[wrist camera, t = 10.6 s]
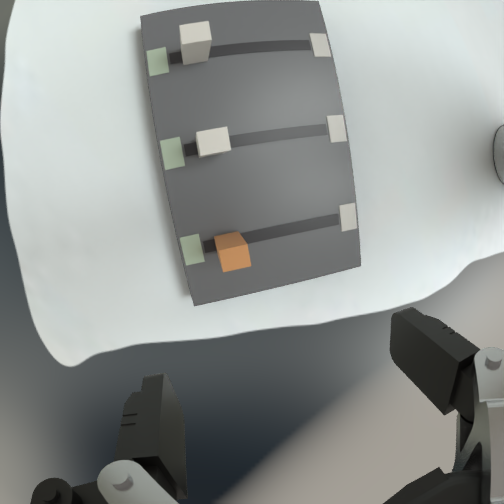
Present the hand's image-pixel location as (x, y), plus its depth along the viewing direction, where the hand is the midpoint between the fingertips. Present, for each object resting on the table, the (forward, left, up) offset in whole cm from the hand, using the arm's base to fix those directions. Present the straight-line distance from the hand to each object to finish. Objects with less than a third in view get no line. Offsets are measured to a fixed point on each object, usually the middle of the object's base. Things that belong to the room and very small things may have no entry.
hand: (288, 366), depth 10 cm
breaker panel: (-4, -8, -20) cm, 22 cm away
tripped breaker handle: (0, 0, -17) cm, 17 cm away
